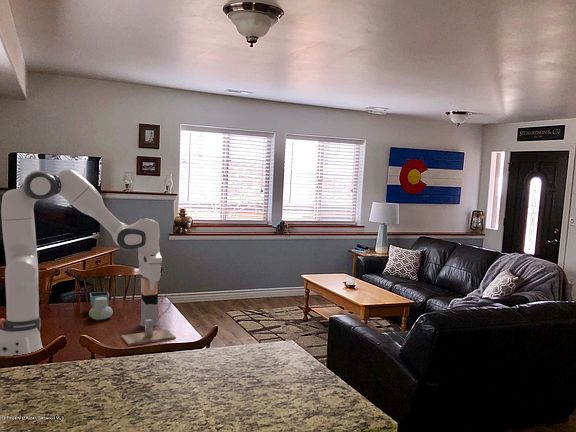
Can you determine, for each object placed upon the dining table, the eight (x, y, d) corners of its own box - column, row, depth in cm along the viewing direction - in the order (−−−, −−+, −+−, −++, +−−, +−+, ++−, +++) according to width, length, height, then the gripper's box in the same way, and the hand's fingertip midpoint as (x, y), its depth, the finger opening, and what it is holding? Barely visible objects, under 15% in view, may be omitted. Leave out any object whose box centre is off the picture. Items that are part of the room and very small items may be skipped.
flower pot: (89, 309, 263) (89, 292, 262) (107, 308, 267) (107, 291, 266) (90, 314, 255) (90, 296, 254) (109, 312, 259) (109, 295, 258)
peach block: (144, 295, 215) (144, 280, 214) (140, 292, 219) (140, 277, 219) (157, 294, 217) (157, 279, 217) (153, 291, 222) (153, 276, 222)
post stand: (128, 345, 210) (128, 326, 209) (121, 337, 220) (121, 319, 219) (175, 338, 220) (175, 320, 219) (166, 331, 230) (167, 314, 230)
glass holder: (139, 322, 243) (139, 291, 242) (169, 320, 248) (170, 289, 247) (140, 327, 235) (140, 295, 234) (171, 325, 240) (172, 293, 239)
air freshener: (115, 317, 250) (115, 297, 250) (105, 321, 242) (105, 301, 242) (96, 315, 253) (96, 295, 252) (85, 319, 245) (85, 299, 244)
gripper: (135, 253, 224) (135, 283, 225) (148, 260, 207) (148, 293, 208) (149, 252, 228) (149, 282, 229) (163, 259, 210) (163, 292, 211)
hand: (149, 287), depth 218 cm, fingers closed on peach block, 6 cm apart
